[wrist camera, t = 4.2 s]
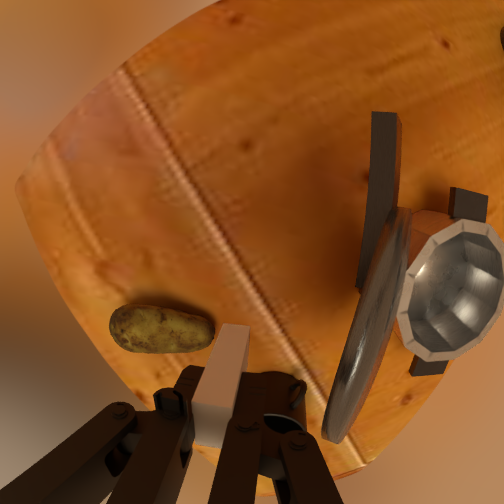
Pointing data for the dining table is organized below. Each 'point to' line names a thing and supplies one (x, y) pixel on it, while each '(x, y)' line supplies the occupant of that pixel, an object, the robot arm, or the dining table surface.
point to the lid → (373, 280)
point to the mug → (284, 403)
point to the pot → (450, 283)
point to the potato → (159, 330)
